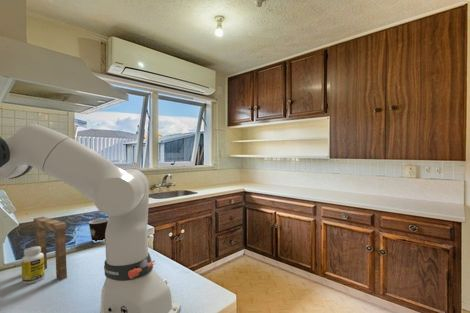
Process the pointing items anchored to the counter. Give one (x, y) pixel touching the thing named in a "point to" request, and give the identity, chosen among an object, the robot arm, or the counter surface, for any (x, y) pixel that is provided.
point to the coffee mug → (98, 229)
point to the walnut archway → (60, 243)
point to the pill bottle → (32, 265)
